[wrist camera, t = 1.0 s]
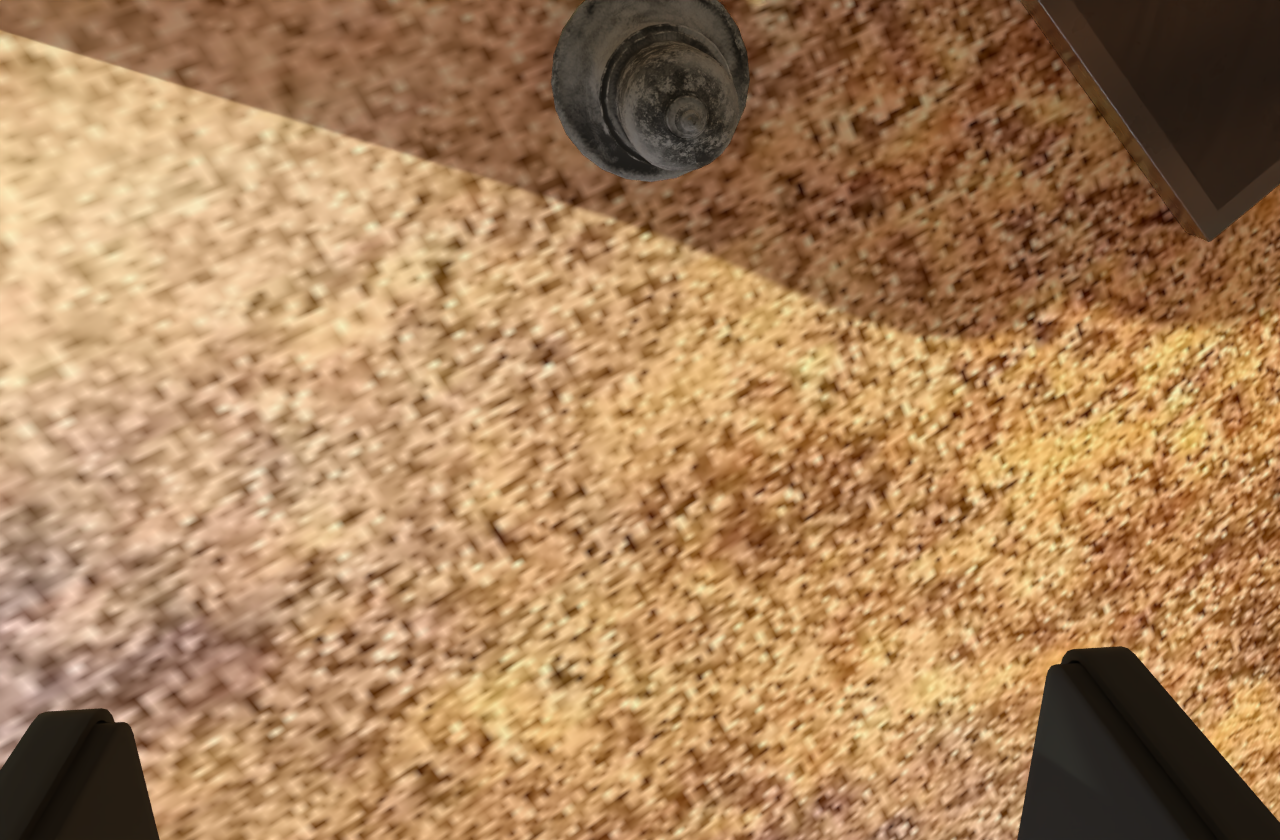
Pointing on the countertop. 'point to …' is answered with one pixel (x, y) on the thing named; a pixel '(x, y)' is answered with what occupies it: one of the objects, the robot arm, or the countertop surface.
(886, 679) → the countertop surface
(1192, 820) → the robot arm
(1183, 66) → the board
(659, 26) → the stone chess piece
